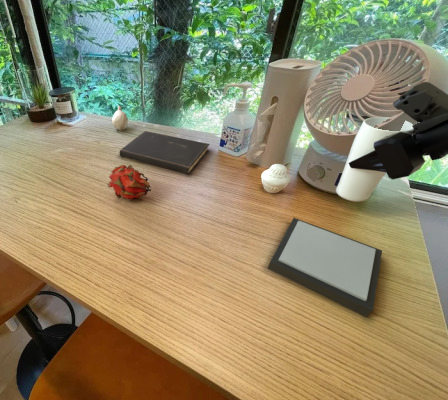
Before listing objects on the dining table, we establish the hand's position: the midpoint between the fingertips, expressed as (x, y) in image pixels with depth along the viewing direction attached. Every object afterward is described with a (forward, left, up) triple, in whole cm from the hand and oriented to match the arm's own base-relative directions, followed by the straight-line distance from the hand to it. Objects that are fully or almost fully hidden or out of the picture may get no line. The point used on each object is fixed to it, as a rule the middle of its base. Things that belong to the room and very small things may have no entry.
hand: (360, 159), depth 48 cm
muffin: (+13, 0, -12) cm, 18 cm away
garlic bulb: (+70, -7, -12) cm, 71 cm away
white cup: (-2, 0, -8) cm, 8 cm away
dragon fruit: (+40, +22, -12) cm, 47 cm away
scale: (-1, +17, -12) cm, 21 cm away
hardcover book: (+45, 0, -12) cm, 46 cm away
